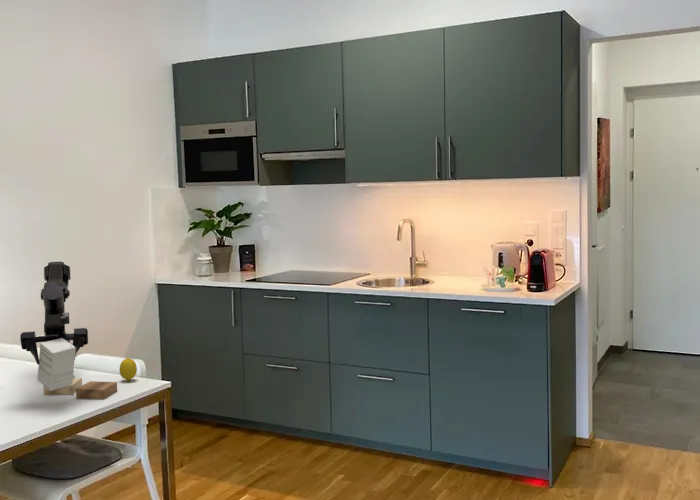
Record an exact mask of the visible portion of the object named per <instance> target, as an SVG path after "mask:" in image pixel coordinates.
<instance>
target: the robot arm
mask: <svg viewBox="0 0 700 500" xmlns="http://www.w3.org/2000/svg"><path fill="white" fill-rule="evenodd" d="M43 279H44V281H46V282H44V283H43V284H44V285H43V288H41V291H40V300H41V301H43V306H44V323H43V332H44V334H41V335H36V330H35V331H23V332H21V333H20V346H21V349H22V350H25V351H26V352H30V353H31V355H32V356H33V358H34V360H35V362H36V364H37V365H38V366H39V352H38V347H37V343H43V342H47V341H51V340H56V339H60V338H63V339H65V340H66V341H67V342H69V343H70V344H71V341H72V345H73V346H74V347H76V350H75V357H76V356H77V354H78V353H79V350H80V349H81V348H83V347H85V346H86V345H89V330H88V328H86V327H80V328H73V333H67V332H66V325H69V324H70V312H66V311H65V309H66V308H65V302H66V301H67V299H68V298H69V297H70V296H71V295H70V290H69V289H68V288H69V285H70V284H69V280H70V281H71V279H72V277H71V267H70V265H67V264H65V262H64V261H50V262H48V263H47V265H46V266H44V268H43ZM74 376H75V375H74V374H73V378H75V377H74Z"/></svg>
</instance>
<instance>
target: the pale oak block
mask: <svg viewBox="0 0 700 500" xmlns="http://www.w3.org/2000/svg"><path fill="white" fill-rule="evenodd" d="M42 386H43V396H69V395H70V396H71V395H74V394H75V393H76V389H77V388H79V387H81V386H83V378H82V377H73V382H72V385H68V386H65V387H62V388H58V389H55V390H52V391H50V390H49V389H47V388H46V387H45V386H44V385H42Z"/></svg>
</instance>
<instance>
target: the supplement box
mask: <svg viewBox="0 0 700 500" xmlns="http://www.w3.org/2000/svg"><path fill="white" fill-rule="evenodd" d="M75 350H76V347H74V346H73V343H71V342H70V343H69V342H67V341H66V340H65V339H63V338H60V339H56V340H51V341H47V342H39V352H38V357H39V365H38V369H37V381H38V382H39V383H40V384H41V385H42V386H45V387H46V388H47V389H49V390H50V391H52V390H55V389H58V388H62V387H65V386H68V385H72V382H73V378H74V377H73V375H74V369H75V360H76V356H75Z"/></svg>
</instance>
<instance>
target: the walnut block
mask: <svg viewBox="0 0 700 500" xmlns="http://www.w3.org/2000/svg"><path fill="white" fill-rule="evenodd" d="M117 392H118V382H117V381H96V380H95V381H88V382H86V383H84V384H82V386H81V387H79V388H77V389H76V392H75V393H76V394H75V399H76V398H80V400H106V399H107V398H109V397H110V396H112V395H113V394H115V393H117Z"/></svg>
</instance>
